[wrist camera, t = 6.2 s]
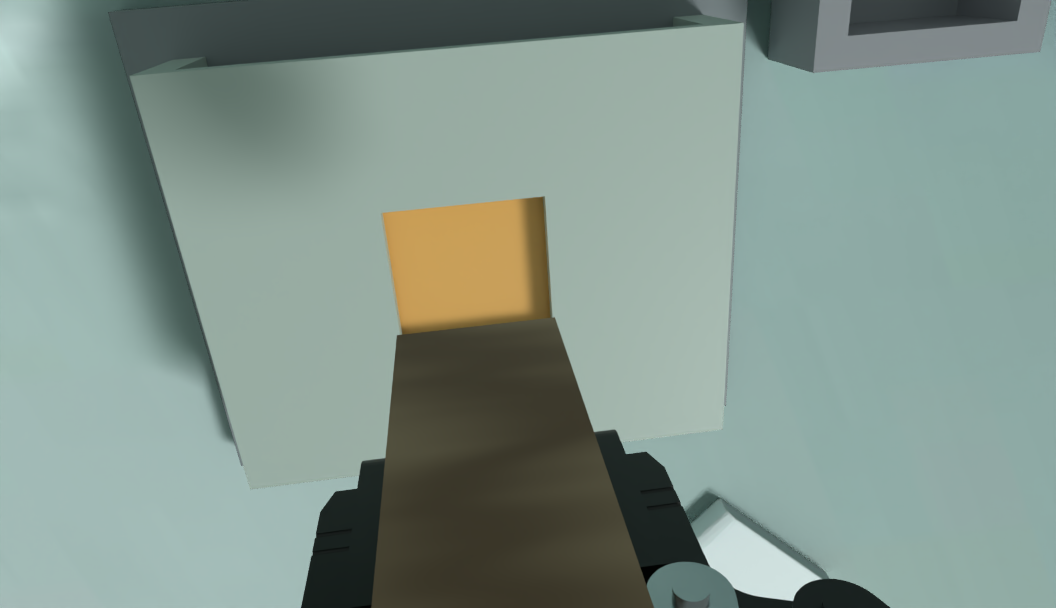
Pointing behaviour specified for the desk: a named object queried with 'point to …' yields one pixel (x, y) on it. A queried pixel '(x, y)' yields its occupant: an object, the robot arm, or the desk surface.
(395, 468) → the brown block
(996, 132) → the desk surface
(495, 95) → the grey box with hole
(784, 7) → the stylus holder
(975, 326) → the desk surface
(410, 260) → the breaker button
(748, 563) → the external hard drive
